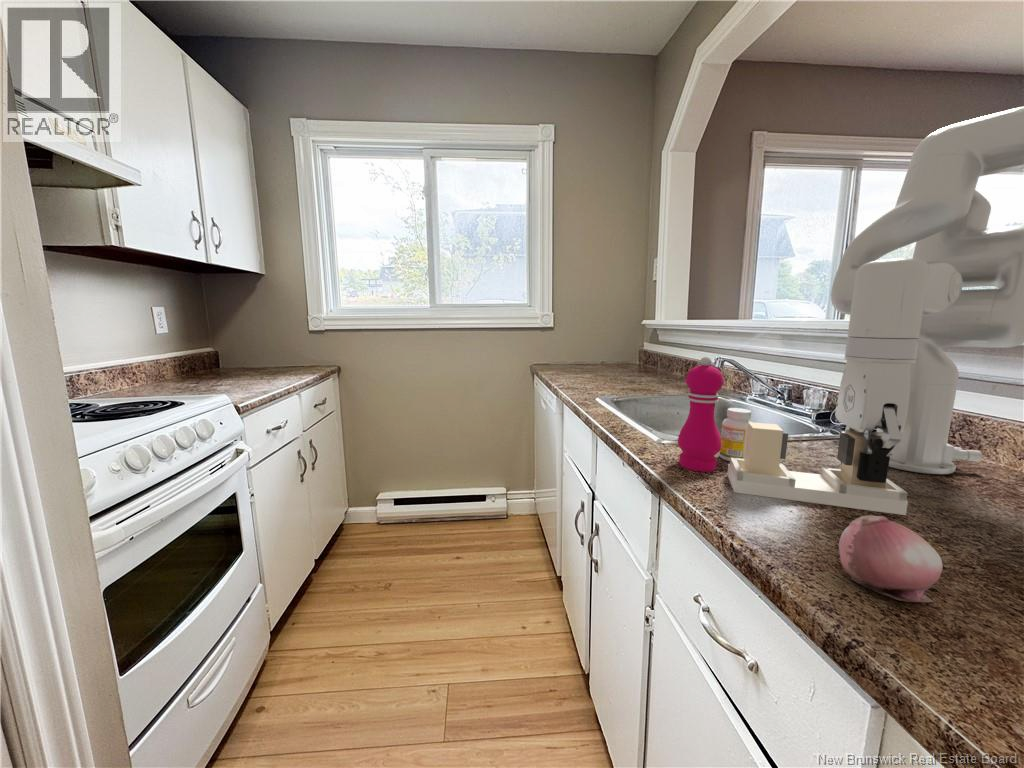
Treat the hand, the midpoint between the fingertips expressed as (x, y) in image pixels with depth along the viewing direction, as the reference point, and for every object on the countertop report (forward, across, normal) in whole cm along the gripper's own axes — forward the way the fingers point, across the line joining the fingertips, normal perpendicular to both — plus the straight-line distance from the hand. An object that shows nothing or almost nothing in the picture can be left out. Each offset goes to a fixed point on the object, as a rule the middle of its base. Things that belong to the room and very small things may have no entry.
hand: (862, 472), depth 61 cm
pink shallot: (+4, +24, -6) cm, 25 cm away
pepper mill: (+4, -7, -22) cm, 23 cm away
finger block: (+2, 0, 0) cm, 2 cm away
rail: (+4, 0, -6) cm, 8 cm away
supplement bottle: (+4, -14, -14) cm, 21 cm away
